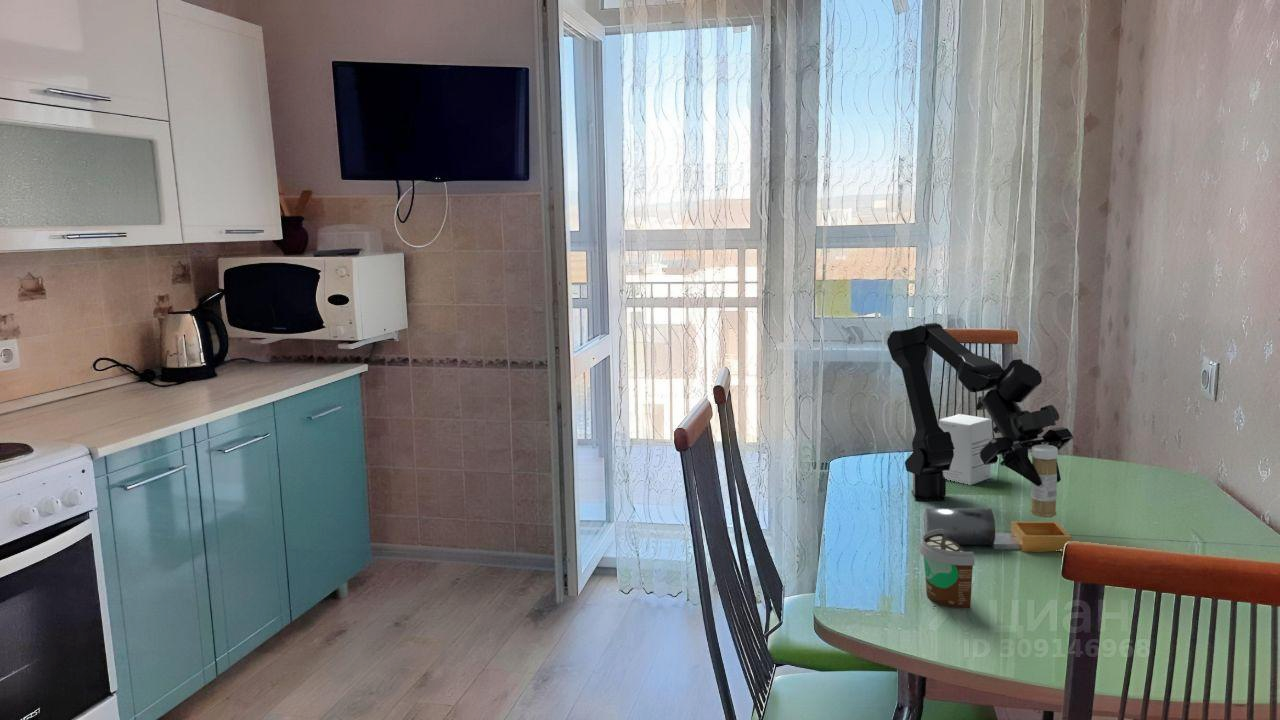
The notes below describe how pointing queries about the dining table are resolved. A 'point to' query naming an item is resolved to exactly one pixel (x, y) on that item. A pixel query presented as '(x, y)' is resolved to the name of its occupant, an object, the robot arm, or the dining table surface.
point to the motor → (980, 530)
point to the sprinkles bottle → (1044, 480)
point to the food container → (946, 570)
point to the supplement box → (967, 447)
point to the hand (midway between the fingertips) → (1049, 483)
